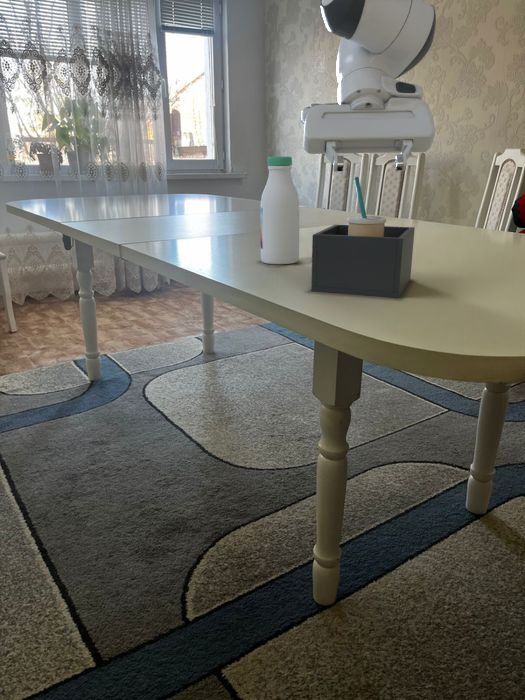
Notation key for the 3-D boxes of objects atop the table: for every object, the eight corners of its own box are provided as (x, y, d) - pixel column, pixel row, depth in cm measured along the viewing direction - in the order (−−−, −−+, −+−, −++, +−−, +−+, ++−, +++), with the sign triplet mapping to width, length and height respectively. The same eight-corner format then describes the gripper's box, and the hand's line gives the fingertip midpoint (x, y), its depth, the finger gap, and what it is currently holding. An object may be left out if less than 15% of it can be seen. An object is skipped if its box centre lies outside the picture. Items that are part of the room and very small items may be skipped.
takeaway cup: (384, 277, 91) (391, 176, 85) (378, 285, 85) (385, 177, 80) (349, 275, 93) (354, 175, 87) (341, 282, 87) (345, 177, 82)
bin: (410, 279, 93) (414, 227, 90) (398, 298, 81) (403, 238, 78) (333, 274, 98) (334, 224, 95) (311, 290, 86) (312, 234, 83)
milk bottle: (306, 261, 109) (308, 156, 103) (280, 266, 104) (280, 156, 97) (279, 256, 115) (279, 156, 108) (252, 261, 110) (251, 156, 103)
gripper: (301, 88, 86) (301, 153, 80) (432, 85, 85) (442, 151, 79) (301, 120, 92) (301, 183, 86) (423, 118, 91) (432, 182, 85)
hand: (369, 168), depth 83 cm, fingers open, 8 cm apart
